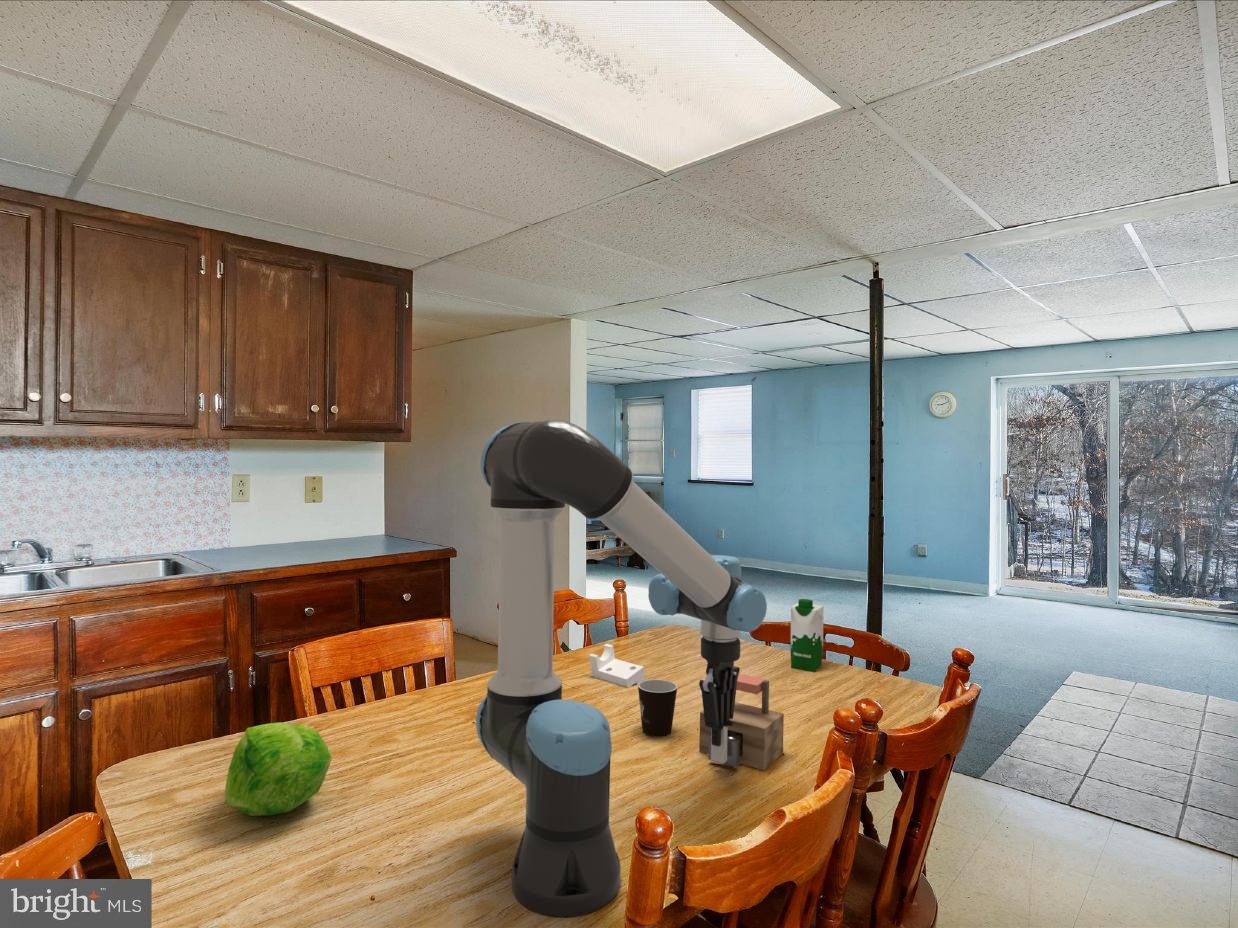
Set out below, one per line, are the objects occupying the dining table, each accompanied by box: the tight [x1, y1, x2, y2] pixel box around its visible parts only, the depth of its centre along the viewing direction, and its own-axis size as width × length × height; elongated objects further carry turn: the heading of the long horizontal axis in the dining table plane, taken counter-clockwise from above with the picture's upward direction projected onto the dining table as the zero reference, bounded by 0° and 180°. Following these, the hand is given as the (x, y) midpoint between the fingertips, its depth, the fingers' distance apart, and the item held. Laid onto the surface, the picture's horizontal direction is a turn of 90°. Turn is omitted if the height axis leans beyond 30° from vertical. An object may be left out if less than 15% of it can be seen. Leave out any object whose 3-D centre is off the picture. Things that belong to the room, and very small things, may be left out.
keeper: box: [736, 673, 768, 695], centre depth 138 cm, size 5×6×2 cm
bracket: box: [588, 643, 647, 688], centre depth 181 cm, size 13×7×8 cm, turn 48°
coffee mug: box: [637, 678, 678, 738], centre depth 147 cm, size 12×9×10 cm
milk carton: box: [790, 598, 825, 673], centre depth 195 cm, size 9×9×20 cm
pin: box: [707, 732, 743, 769], centre depth 135 cm, size 15×6×5 cm, turn 145°
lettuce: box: [224, 721, 333, 817], centre depth 112 cm, size 15×20×14 cm
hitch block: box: [698, 679, 785, 771], centre depth 136 cm, size 10×14×14 cm
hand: (719, 759), depth 127 cm, fingers closed
